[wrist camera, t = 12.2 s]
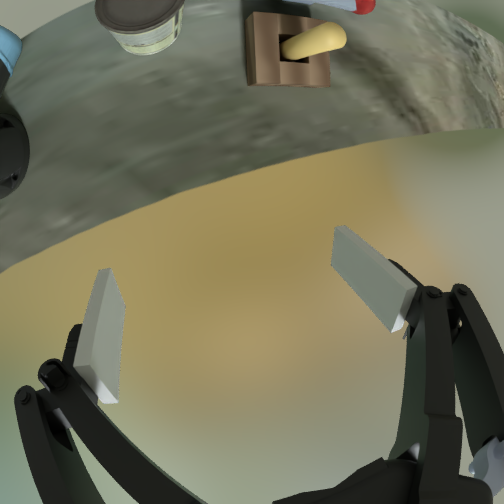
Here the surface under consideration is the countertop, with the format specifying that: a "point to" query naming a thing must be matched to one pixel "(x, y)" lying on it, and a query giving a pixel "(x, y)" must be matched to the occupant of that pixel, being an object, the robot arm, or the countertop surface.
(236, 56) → the countertop surface
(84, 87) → the countertop surface
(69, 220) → the countertop surface
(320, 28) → the peg
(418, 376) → the robot arm
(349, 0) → the light blue box
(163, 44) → the coffee can
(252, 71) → the socket block
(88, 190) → the countertop surface
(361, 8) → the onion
